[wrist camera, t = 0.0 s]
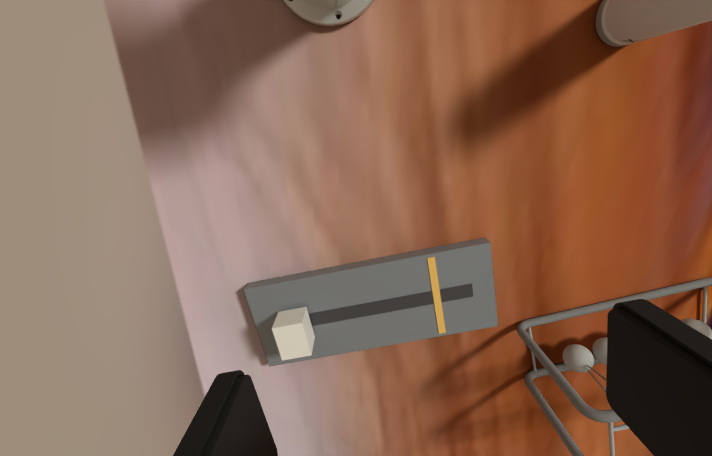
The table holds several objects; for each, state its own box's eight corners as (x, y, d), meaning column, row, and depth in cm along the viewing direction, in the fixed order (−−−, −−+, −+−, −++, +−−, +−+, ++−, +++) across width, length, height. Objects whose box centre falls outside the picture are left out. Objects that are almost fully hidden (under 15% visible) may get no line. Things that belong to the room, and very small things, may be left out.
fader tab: (278, 310, 47) (271, 328, 43) (306, 305, 47) (302, 322, 43) (288, 341, 48) (282, 360, 44) (315, 336, 48) (311, 355, 44)
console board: (247, 283, 48) (243, 290, 46) (484, 237, 46) (490, 242, 44) (272, 357, 52) (269, 367, 50) (492, 318, 50) (498, 326, 48)
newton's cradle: (519, 376, 54) (596, 494, 37) (510, 321, 51) (589, 421, 34) (715, 333, 51) (893, 436, 34) (718, 273, 48) (915, 353, 31)
